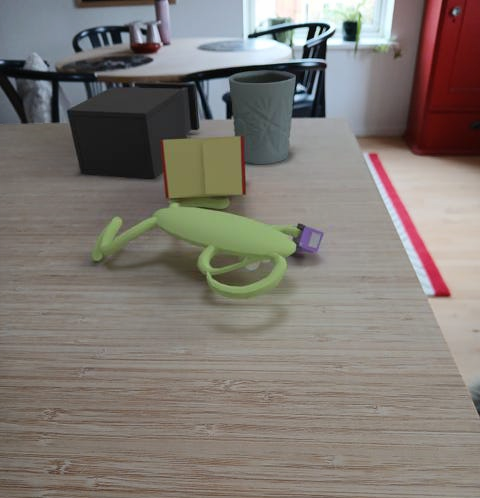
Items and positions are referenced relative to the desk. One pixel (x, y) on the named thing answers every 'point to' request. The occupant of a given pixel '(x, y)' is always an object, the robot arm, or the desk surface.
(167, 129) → the dark grey box
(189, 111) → the basket
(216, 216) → the figurine
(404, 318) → the desk surface
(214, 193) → the baking soda box
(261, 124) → the grey green embossed cup
